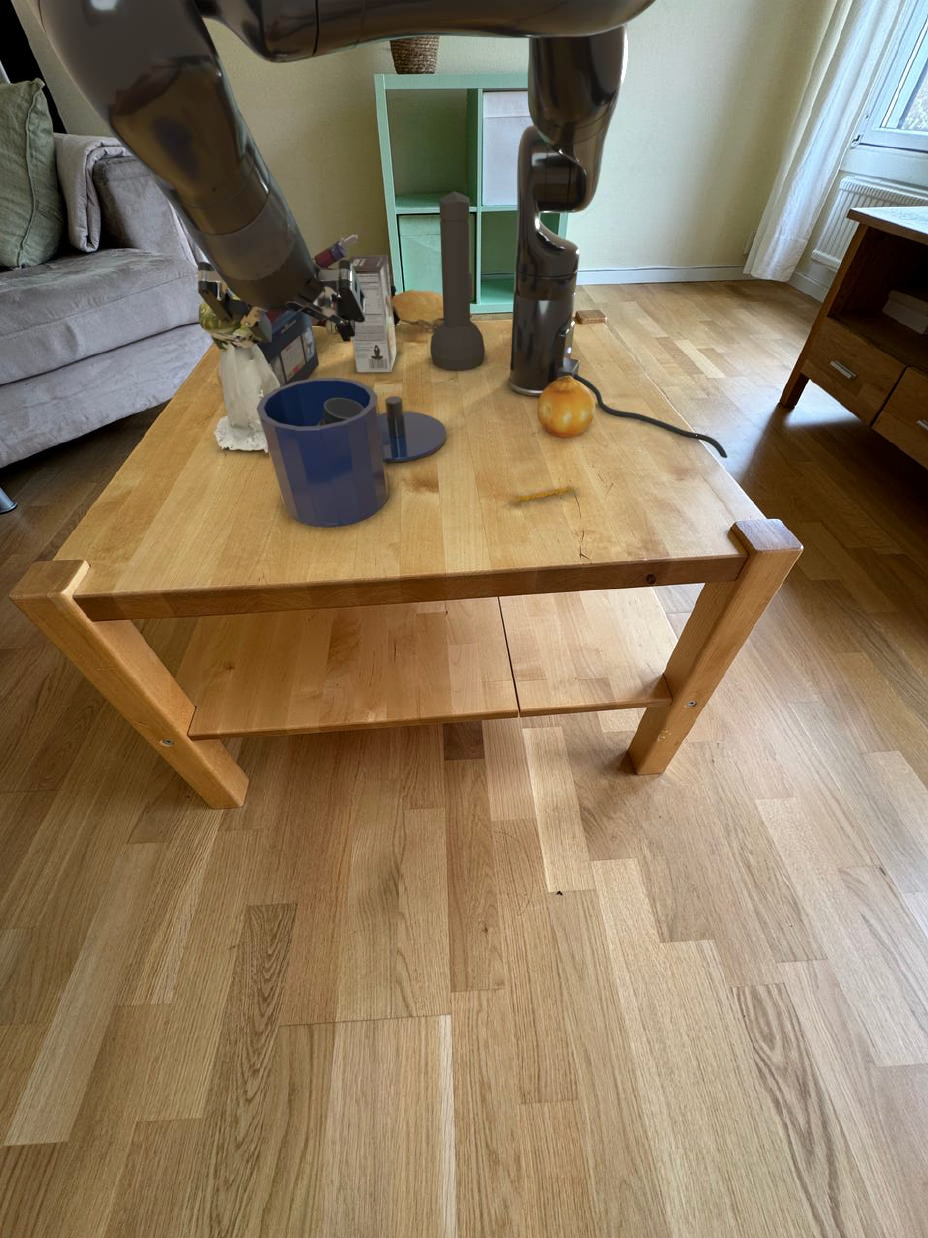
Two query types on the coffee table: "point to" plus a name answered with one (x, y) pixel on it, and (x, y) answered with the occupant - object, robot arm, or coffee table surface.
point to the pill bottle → (339, 410)
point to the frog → (239, 381)
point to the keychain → (544, 494)
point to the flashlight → (456, 291)
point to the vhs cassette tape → (291, 348)
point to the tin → (325, 452)
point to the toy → (324, 262)
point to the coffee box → (374, 316)
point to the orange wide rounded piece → (420, 308)
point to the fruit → (565, 407)
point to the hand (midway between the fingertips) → (307, 333)
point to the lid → (408, 432)
